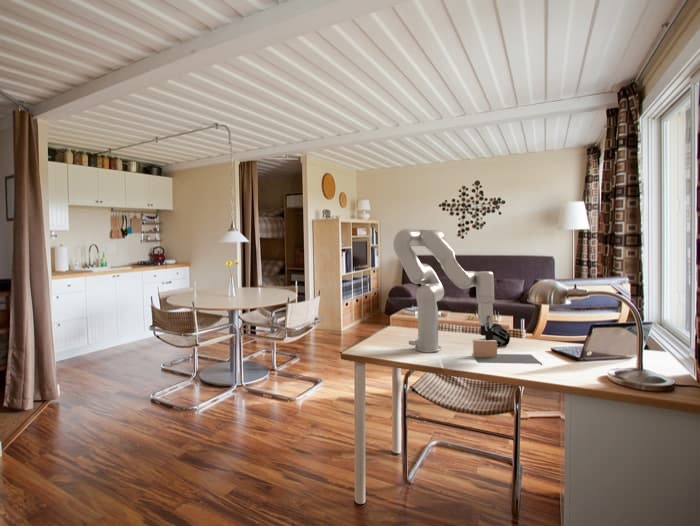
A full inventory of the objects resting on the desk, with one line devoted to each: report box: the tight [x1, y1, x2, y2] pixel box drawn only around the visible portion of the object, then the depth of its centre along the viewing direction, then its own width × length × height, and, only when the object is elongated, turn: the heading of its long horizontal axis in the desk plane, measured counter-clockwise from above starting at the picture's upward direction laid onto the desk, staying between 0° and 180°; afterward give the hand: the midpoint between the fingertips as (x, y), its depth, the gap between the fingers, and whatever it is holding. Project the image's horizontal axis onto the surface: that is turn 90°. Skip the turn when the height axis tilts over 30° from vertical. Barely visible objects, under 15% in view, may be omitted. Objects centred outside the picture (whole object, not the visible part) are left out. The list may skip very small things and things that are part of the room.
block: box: [472, 339, 498, 358], centre depth 182 cm, size 10×2×7 cm, turn 83°
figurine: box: [492, 322, 511, 347], centre depth 208 cm, size 9×9×20 cm
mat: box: [471, 353, 543, 366], centre depth 178 cm, size 26×14×1 cm, turn 83°
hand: (486, 337), depth 181 cm, fingers open, 9 cm apart
